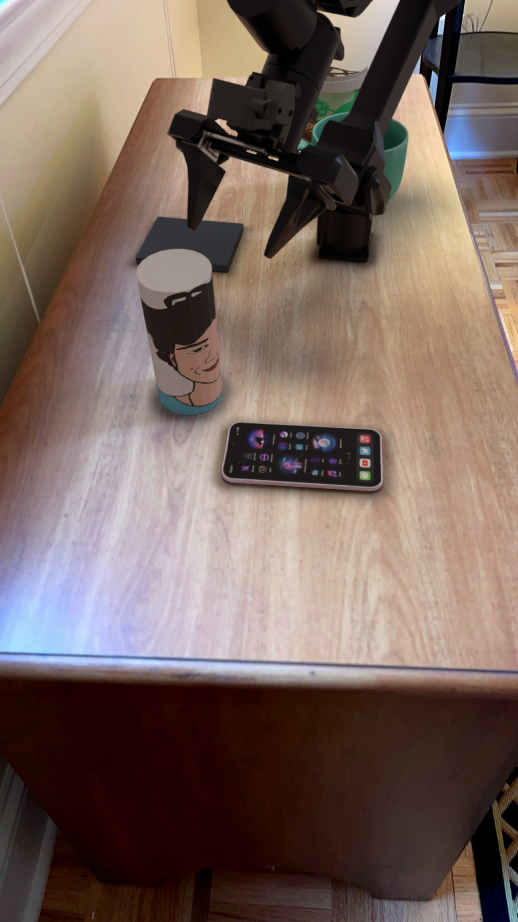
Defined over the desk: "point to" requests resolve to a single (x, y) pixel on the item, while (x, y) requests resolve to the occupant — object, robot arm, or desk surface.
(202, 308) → the cup
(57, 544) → the desk surface
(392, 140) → the mug
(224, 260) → the slate mat
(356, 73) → the food container
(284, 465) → the smartphone
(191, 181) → the robot arm
